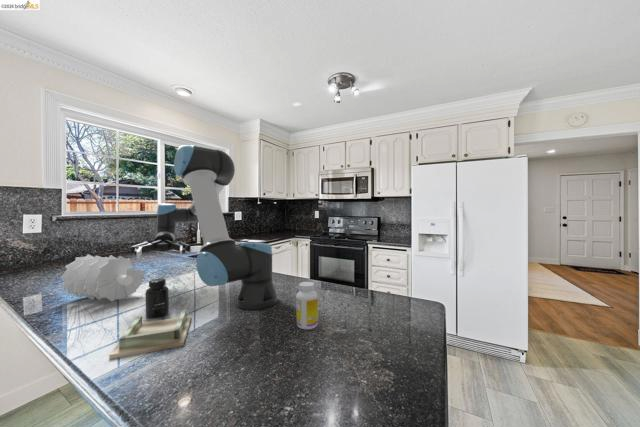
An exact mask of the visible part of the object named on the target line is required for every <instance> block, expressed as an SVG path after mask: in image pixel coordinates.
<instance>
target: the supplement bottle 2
mask: <svg viewBox="0 0 640 427" xmlns="http://www.w3.org/2000/svg"><path fill="white" fill-rule="evenodd" d="M298 289H299V291H298V292H297V293H296V294H295V295H296V296H295V308H296V310H295V311H296V312H295V313H296V326H297V327H298V329H302V330H313V329H315V328H317V327H318V325H319V305H318V304H319V303H318V302H319V299H318V298H319V297H318V293H317V291H315V290H314V289H315V283H314V282H311V281H303V282H302V281H301V282H300V283H299V284H298Z"/></svg>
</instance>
